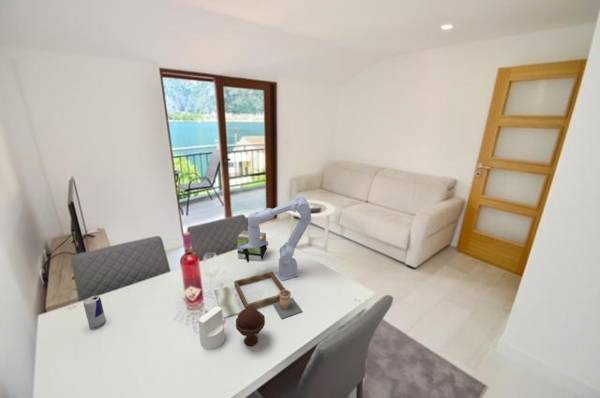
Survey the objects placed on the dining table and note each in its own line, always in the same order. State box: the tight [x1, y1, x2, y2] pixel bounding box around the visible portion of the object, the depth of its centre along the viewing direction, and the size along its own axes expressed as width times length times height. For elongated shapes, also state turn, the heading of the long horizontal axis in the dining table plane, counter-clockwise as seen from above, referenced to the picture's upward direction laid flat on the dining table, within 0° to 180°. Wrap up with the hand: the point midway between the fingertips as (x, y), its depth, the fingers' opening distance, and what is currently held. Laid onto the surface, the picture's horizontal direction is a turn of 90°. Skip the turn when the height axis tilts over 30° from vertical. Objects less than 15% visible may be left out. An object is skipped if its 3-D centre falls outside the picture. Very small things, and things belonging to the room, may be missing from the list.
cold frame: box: [214, 271, 287, 320], centre depth 126 cm, size 30×20×3 cm
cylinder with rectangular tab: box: [197, 305, 226, 350], centre depth 99 cm, size 9×9×12 cm
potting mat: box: [272, 297, 303, 320], centre depth 118 cm, size 10×10×1 cm
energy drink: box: [83, 295, 107, 330], centre depth 105 cm, size 5×5×12 cm
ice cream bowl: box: [235, 308, 266, 348], centre depth 99 cm, size 11×11×15 cm
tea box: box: [236, 230, 267, 262], centre depth 159 cm, size 15×10×15 cm
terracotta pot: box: [278, 289, 292, 310], centre depth 118 cm, size 5×5×7 cm
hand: (254, 259), depth 139 cm, fingers open, 7 cm apart
